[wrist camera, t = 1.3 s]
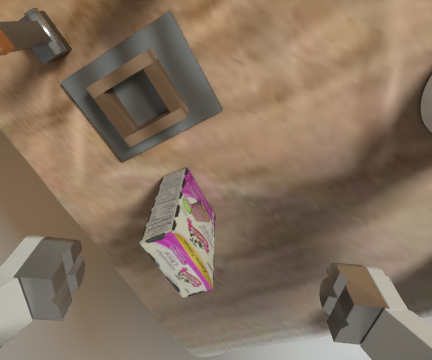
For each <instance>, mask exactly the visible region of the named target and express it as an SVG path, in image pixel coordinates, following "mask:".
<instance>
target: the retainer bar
mask: <svg viewBox="0 0 432 360" xmlns="http://www.w3.org/2000/svg"><path fill="white" fill-rule="evenodd" d="M50 42H52V40H51V39H50V37H49V36H48V35H47V33H46V32H45V31H44V29H43V28H42V27H41V25H40V24H39V22H38V21H13V22H0V56H2V55H7V54H8V53H9V52H14V51H20V50H25V49H30V48H35V47H41V46H46V45H47V44H49V43H50Z"/></svg>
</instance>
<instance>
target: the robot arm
mask: <svg viewBox="0 0 432 360" xmlns="http://www.w3.org/2000/svg"><path fill="white" fill-rule="evenodd" d="M421 116H422V120H423V122H424V124H425V126H426V127H427V129H428V130H429V131H430V132H432V75H431V77H430V79H429V80H428V82H427V84H426V87H425V89H424V92H423V95H422V99H421ZM81 250H82V246H81V242H80V241H78V240H72V239H64V238H55V237H43V236H35V235H29V236H27V237H25V238H24V239H23V240H22V242H21V243H20V244H19V245H18V246H17V248H16V249H15V250H14V251H13V252H12V254H11V255H10V256H9V257H8V258H7V259H6V261H5V262H4V263H3V264H2V265H1V267H0V348H1V347H2V346H3V345H4V344H5V343H7V342H8V341H9V340H10V339H11V338H13V337H14V336H15V335H16V334H18V333H19V332H20V331H21V330H22V329H24V328H25V327H26V326H27V325H29V324H30V323H31V322H32V321H33V319H40V320H59V321H61V320H63V318H64V316H65V314H66V312H67V310H68V308H69V306H70V304H71V302H72V298H71V293H73V292H74V291H75V290H77V289H78V288H79V286H80V284H81V282H82V279H83V275H84V271H85V263H84V259H83V258H82V257H81V256H80V255H79V254H80V252H81ZM327 273H328V275H329V276H328V277H326V278H325V279H323V280H322V283H321V286H320V302H321V305H322V308H323V310H324V311H325V312H326V313H327V314H328V315H329V318H328V320H327V323H328V326H329V329H330V332H331V335H332V338H333V341H334V342H341V343H351V344H359V345H361V347H362V349H363V350H364V351H365V352H366V353H367V354H368V356H369V357H370V358H371V359H372V360H432V326H431V325H429V324H428V323H426V322H425V321H424V320H423V319H421V318H420V317H419V316H418V315H416V314H415V313H414V312H412V311H409V310H406V308H405V307H404V305H403V303H402V302H401V300H400V299H399V297H398V295H397V294H396V292H395V290H394V289H393V287H392V285H391V284H390V282H389V281H388V279H387V277H386V276H385V274H384V272H383V271H382V269H381V268H379V267H378V266H367V265H354V264H342V263H331V264H330V265H329V267H328V269H327Z"/></svg>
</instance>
